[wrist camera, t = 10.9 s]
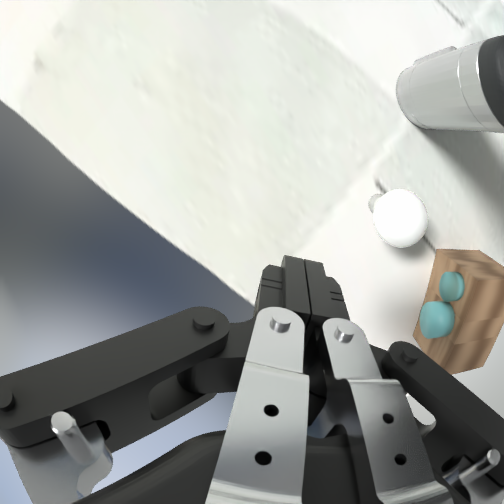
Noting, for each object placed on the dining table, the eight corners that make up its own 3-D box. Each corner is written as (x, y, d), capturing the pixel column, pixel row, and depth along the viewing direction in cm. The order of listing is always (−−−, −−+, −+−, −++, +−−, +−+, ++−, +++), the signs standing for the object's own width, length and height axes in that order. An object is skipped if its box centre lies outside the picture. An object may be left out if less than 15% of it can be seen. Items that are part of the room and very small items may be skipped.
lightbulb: (381, 170, 35) (423, 182, 24) (403, 208, 36) (446, 233, 26) (344, 197, 36) (375, 219, 26) (368, 234, 38) (402, 268, 28)
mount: (404, 336, 44) (429, 379, 34) (427, 248, 38) (468, 280, 28) (454, 330, 44) (482, 366, 34) (479, 250, 38) (519, 278, 28)
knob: (416, 325, 38) (430, 346, 33) (425, 295, 36) (442, 314, 31) (482, 317, 38) (497, 333, 33) (491, 290, 36) (509, 305, 31)
